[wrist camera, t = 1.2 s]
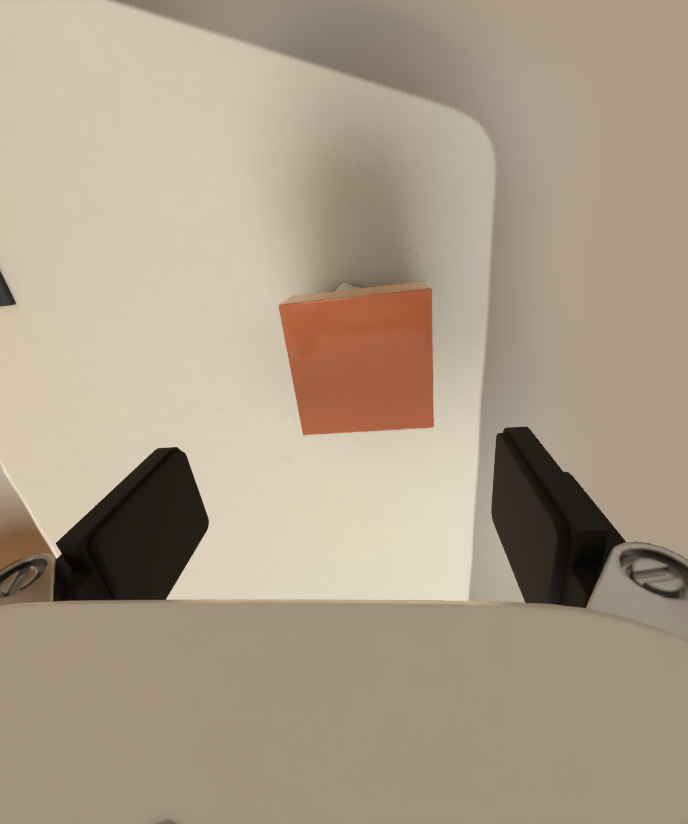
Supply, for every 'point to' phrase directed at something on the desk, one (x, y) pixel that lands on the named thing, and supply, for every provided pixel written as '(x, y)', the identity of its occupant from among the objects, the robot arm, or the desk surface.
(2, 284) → the mat
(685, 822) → the robot arm
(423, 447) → the desk surface
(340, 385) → the orange flat block
